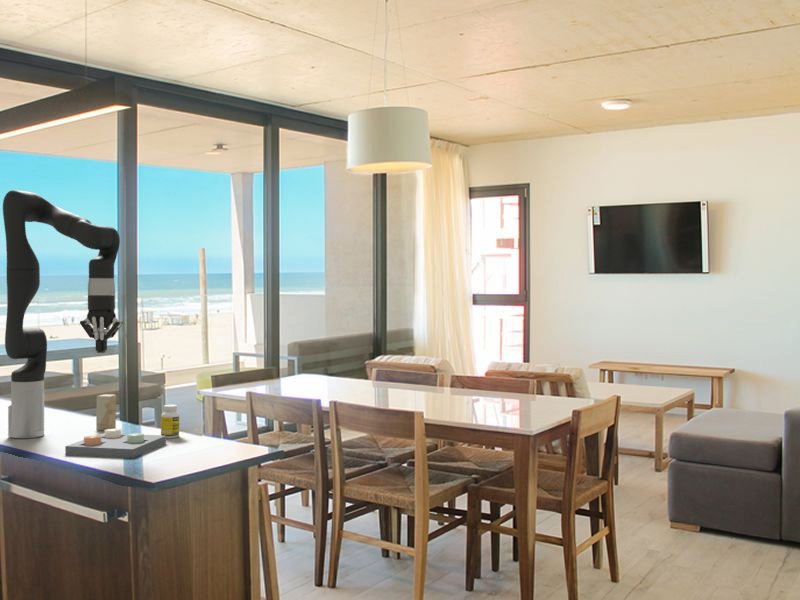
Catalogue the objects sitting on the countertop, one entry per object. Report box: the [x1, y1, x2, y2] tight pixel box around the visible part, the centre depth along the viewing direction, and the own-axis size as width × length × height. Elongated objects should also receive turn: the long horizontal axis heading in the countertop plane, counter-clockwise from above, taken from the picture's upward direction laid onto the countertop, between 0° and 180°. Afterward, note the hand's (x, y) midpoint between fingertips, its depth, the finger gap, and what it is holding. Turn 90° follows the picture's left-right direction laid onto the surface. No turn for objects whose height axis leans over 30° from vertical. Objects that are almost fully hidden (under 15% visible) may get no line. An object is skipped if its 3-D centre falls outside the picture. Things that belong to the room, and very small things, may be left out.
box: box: [95, 393, 117, 431], centre depth 261 cm, size 5×4×11 cm
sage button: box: [127, 432, 145, 444], centre depth 229 cm, size 5×5×4 cm
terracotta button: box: [83, 435, 101, 446], centre depth 226 cm, size 5×5×4 cm
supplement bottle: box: [160, 404, 180, 439], centre depth 249 cm, size 5×5×10 cm
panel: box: [64, 432, 167, 459], centre depth 230 cm, size 20×20×2 cm
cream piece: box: [104, 428, 122, 439], centre depth 236 cm, size 5×5×4 cm
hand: (101, 352), depth 237 cm, fingers closed
